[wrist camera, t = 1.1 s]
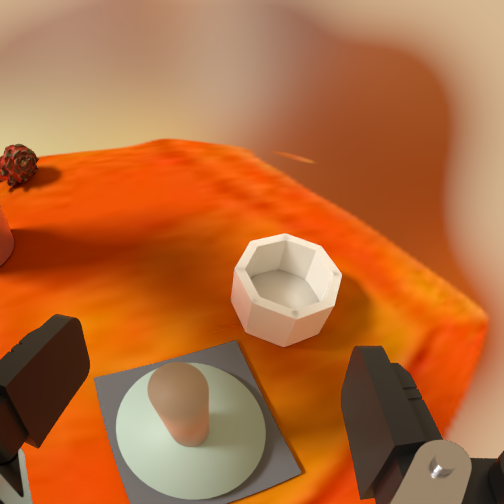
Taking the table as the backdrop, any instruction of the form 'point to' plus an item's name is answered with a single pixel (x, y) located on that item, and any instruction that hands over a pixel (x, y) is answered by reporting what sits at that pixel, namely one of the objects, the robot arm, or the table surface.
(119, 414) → the lid
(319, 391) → the table surface
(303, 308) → the bowl
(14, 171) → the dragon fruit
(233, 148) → the table surface
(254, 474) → the mat
